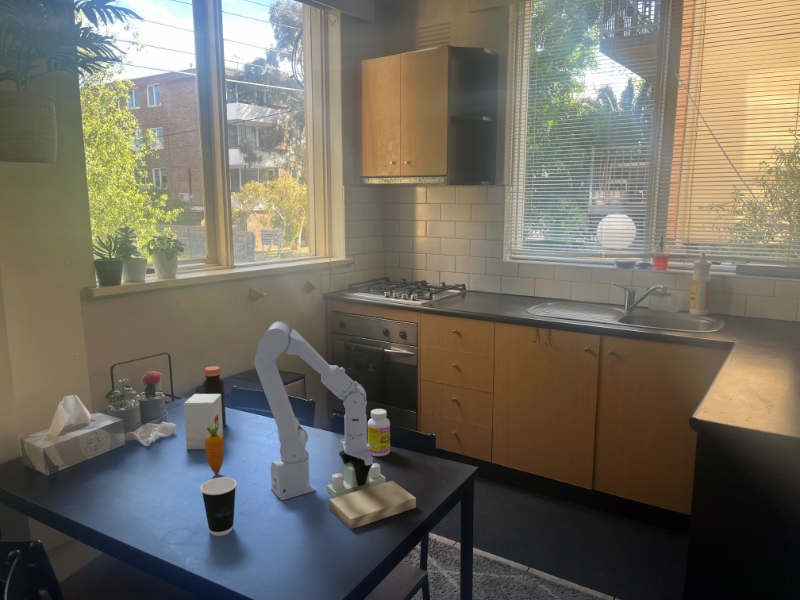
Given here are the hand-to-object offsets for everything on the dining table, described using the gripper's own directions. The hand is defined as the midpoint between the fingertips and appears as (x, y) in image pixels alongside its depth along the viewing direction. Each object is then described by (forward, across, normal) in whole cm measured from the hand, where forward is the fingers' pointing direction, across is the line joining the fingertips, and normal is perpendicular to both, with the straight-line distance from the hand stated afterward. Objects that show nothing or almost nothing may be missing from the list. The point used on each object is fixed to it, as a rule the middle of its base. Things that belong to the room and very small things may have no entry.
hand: (356, 481), depth 156 cm
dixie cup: (+2, -2, +36) cm, 36 cm away
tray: (+2, 0, 0) cm, 2 cm away
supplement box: (+2, +50, +26) cm, 57 cm away
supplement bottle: (+2, +16, -16) cm, 22 cm away
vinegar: (+2, +64, +19) cm, 67 cm away
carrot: (+2, +28, +29) cm, 40 cm away
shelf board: (+2, -12, +2) cm, 12 cm away
